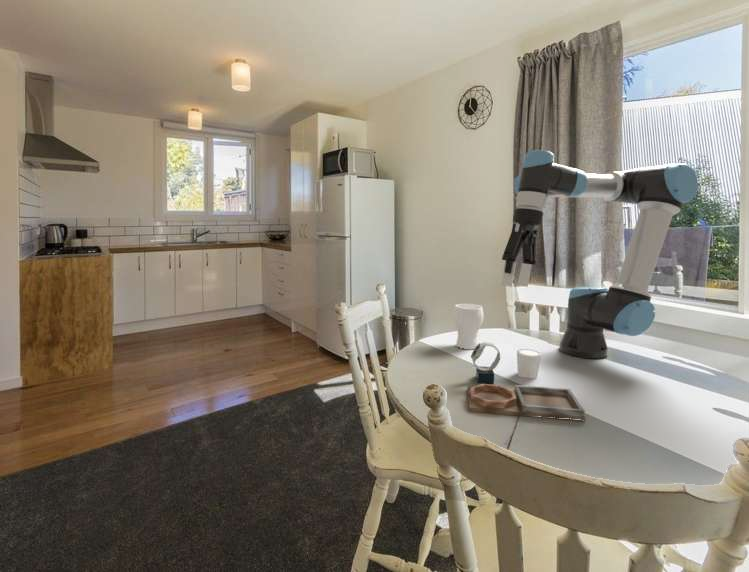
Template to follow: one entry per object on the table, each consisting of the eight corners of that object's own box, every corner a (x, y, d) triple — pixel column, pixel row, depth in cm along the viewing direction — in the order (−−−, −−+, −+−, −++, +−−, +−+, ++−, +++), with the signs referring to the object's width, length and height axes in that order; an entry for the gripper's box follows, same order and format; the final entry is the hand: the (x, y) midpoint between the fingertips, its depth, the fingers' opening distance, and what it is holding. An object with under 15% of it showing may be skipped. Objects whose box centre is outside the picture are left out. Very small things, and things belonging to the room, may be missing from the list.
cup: (485, 351, 146) (487, 309, 143) (454, 350, 146) (456, 309, 143) (478, 342, 156) (480, 303, 154) (450, 342, 156) (451, 303, 154)
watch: (469, 375, 122) (470, 340, 121) (497, 377, 121) (499, 341, 120) (470, 383, 117) (472, 345, 115) (500, 384, 116) (502, 347, 114)
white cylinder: (537, 381, 119) (538, 357, 118) (512, 376, 122) (514, 353, 121) (541, 373, 125) (543, 351, 124) (518, 369, 128) (519, 347, 127)
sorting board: (569, 398, 108) (570, 388, 107) (584, 421, 95) (585, 411, 95) (467, 389, 112) (467, 381, 112) (469, 411, 100) (469, 401, 99)
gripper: (529, 214, 125) (516, 283, 127) (499, 201, 105) (484, 282, 107) (555, 216, 121) (541, 288, 123) (529, 202, 101) (513, 288, 103)
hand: (514, 285), depth 115 cm, fingers open, 13 cm apart
